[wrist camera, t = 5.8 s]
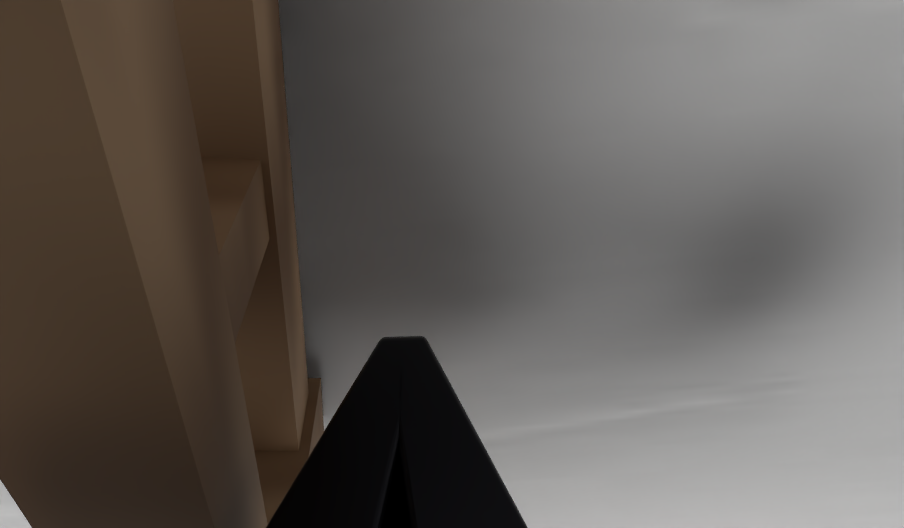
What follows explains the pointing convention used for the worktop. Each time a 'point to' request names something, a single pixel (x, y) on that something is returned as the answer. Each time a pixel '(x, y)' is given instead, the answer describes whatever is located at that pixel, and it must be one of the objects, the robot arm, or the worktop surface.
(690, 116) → the worktop surface
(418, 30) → the worktop surface
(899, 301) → the worktop surface
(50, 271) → the gate
